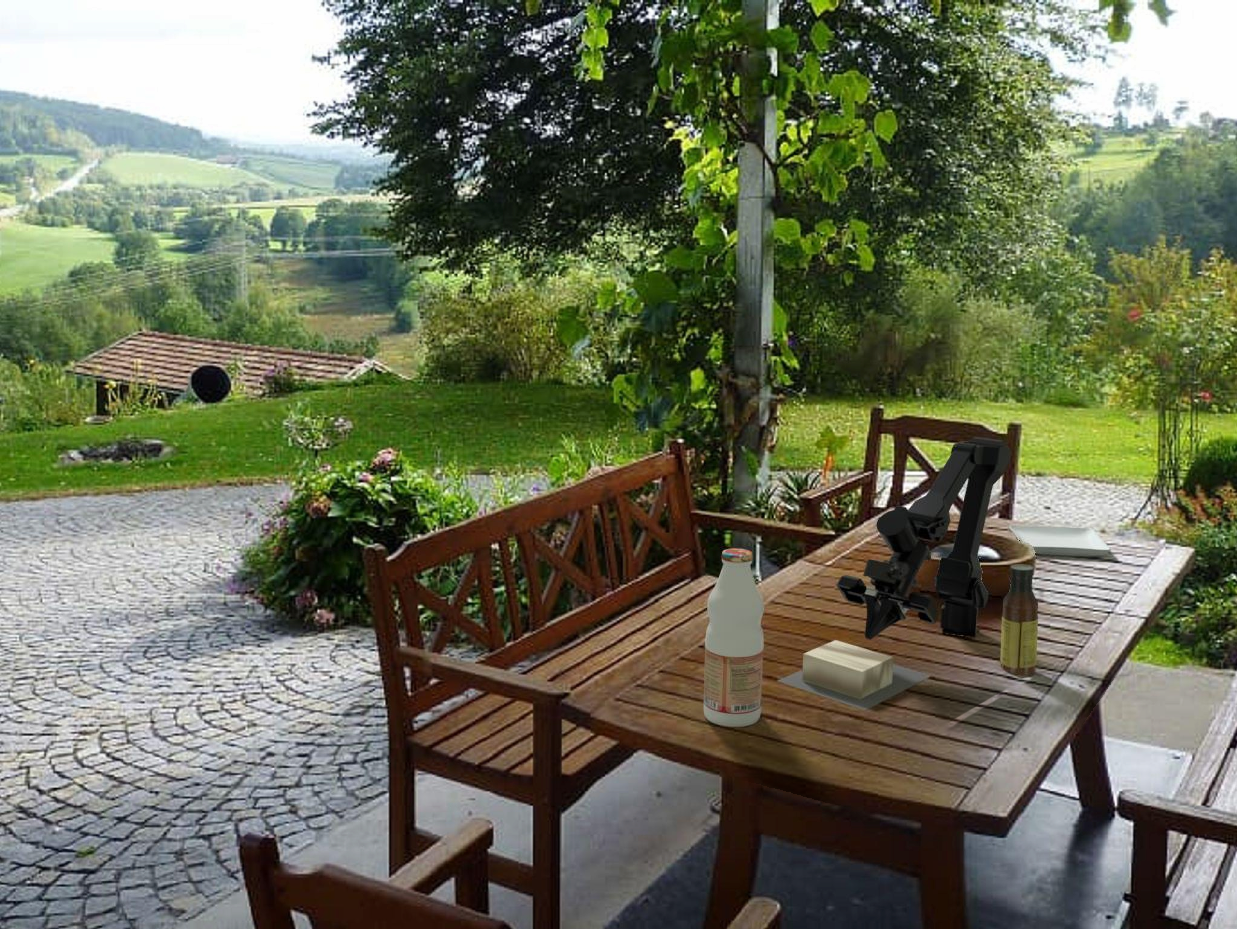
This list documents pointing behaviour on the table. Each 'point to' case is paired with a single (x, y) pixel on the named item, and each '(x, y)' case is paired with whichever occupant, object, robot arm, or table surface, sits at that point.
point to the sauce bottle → (1019, 623)
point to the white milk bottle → (734, 645)
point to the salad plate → (1061, 540)
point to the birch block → (847, 669)
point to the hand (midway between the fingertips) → (867, 638)
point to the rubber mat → (900, 682)
